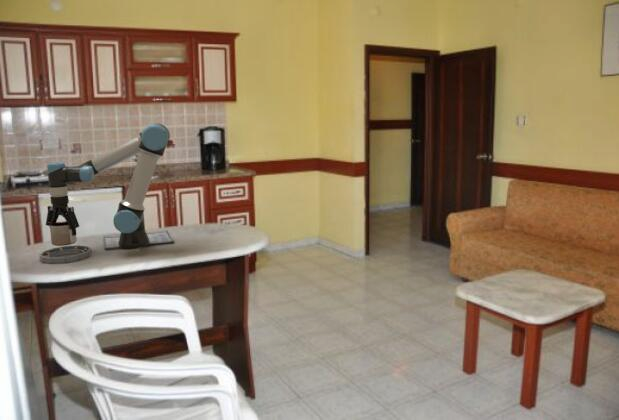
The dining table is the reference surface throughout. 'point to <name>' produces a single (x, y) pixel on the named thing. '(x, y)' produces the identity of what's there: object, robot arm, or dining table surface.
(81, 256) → the tray
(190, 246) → the dining table surface
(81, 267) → the dining table surface
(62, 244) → the planter
